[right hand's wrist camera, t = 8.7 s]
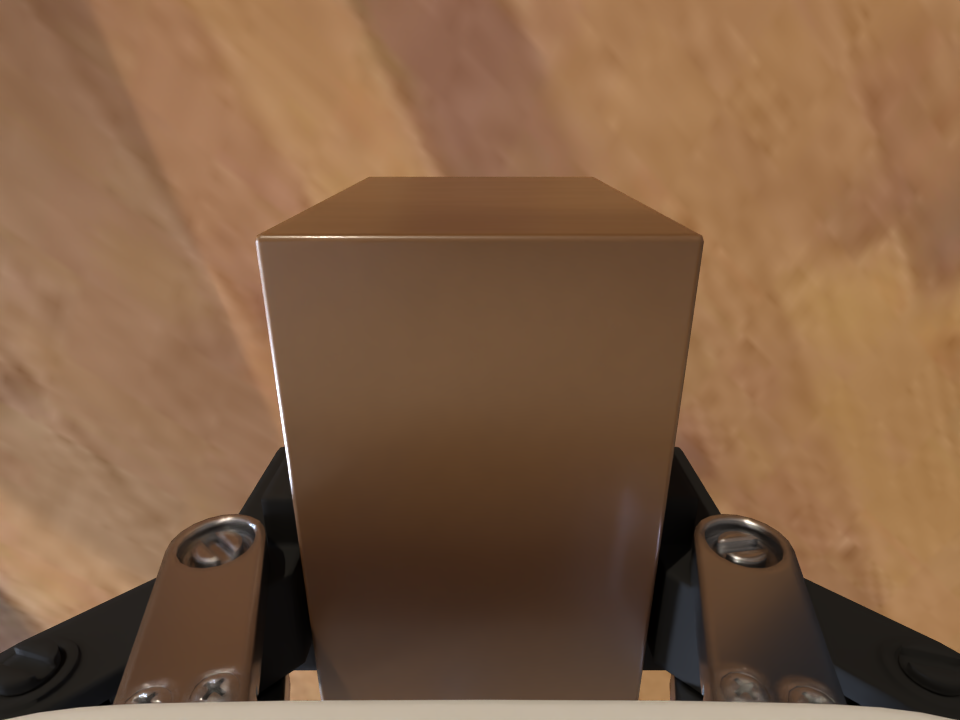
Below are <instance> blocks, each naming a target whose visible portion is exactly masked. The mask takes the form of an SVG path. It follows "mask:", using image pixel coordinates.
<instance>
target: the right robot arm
mask: <svg viewBox="0 0 960 720" xmlns="http://www.w3.org/2000/svg"><path fill="white" fill-rule="evenodd" d="M293 670H317V667H316V660H315V653H314V646H313V639H312V632H311V625H310V618H309V611H308V604H307V597H306V590H305V583H304V576H303V569H302V562H301V555H300V548H299V541H298V534H297V528H296V521H295V514H294V507H293V500H292V493H291V486H290V479H289V472H288V465H287V458H286V451H285V447H281V448H280V449H279V450H278V451H277V452H276V454H275V456H274V457H273V459H272V461H271V462H270V464H269V466H268V467H267V469H266V470H265V472H264V474H263V475H262V477H261V479H260V480H259V482H258V483H257V485H256V487H255V488H254V490H253V492H252V493H251V495H250V497H249V498H248V500H247V501H246V503H245V505H244V506H243V508H242V510H241V511H240V513H239V514H231V515H221V516H216V517H212V518H208V519H205V520H203V521H200V522H198V523H195V524H193V525H192V526H190V527H188V528H187V529H185V530H183V531H182V532H181V533H179V534H178V535H177V536H176V537H175V538H174V539H173V540H172V541H171V543H170V544H169V546H168V548H167V550H166V552H165V555H164V557H163V560H162V563H161V566H160V569H159V572H158V575H157V578H155V579H153V580H151V581H149V582H146V583H144V584H142V585H140V586H138V587H136V588H134V589H132V590H130V591H127V592H125V593H123V594H121V595H119V596H117V597H115V598H113V599H111V600H109V601H106V602H104V603H102V604H100V605H98V606H96V607H94V608H92V609H90V610H87V611H85V612H83V613H81V614H79V615H77V616H75V617H73V618H71V619H69V620H66V621H64V622H62V623H60V624H58V625H56V626H54V627H52V628H50V629H47V630H45V631H43V632H41V633H39V634H37V635H35V636H33V637H31V638H29V639H26V640H24V641H22V642H20V643H18V644H16V645H15V646H13V647H11V648H9V649H8V650H6V651H4V652H2V653H0V720H960V654H959V653H957V652H956V651H954V650H952V649H950V648H949V647H947V646H945V645H943V644H942V643H940V642H938V641H935V640H933V639H931V638H929V637H927V636H925V635H923V634H921V633H919V632H916V631H914V630H912V629H910V628H908V627H906V626H904V625H902V624H900V623H898V622H895V621H893V620H891V619H889V618H887V617H885V616H883V615H881V614H879V613H876V612H874V611H872V610H870V609H868V608H866V607H864V606H862V605H860V604H858V603H855V602H853V601H851V600H849V599H847V598H845V597H843V596H841V595H839V594H836V593H834V592H832V591H830V590H828V589H826V588H824V587H822V586H820V585H818V584H815V583H813V582H811V581H809V580H807V579H805V578H803V575H802V572H801V569H800V566H799V563H798V560H797V557H796V555H795V552H794V550H793V548H792V546H791V544H790V543H789V541H788V540H787V539H786V538H785V537H784V536H783V535H782V534H781V533H779V532H778V531H777V530H775V529H773V528H772V527H770V526H768V525H767V524H765V523H762V522H760V521H757V520H755V519H752V518H748V517H744V516H739V515H729V514H721V513H720V512H719V510H718V508H717V507H716V505H715V504H714V502H713V500H712V499H711V497H710V495H709V494H708V492H707V491H706V489H705V487H704V486H703V484H702V482H701V481H700V479H699V477H698V476H697V474H696V473H695V471H694V469H693V468H692V466H691V464H690V463H689V461H688V459H687V458H686V456H685V455H684V453H683V451H682V450H681V449H680V448H679V447H674V453H673V460H672V467H671V474H670V481H669V488H668V495H667V502H666V509H665V516H664V523H663V530H662V537H661V544H660V551H659V558H658V565H657V572H656V579H655V586H654V593H653V600H652V607H651V614H650V621H649V628H648V635H647V642H646V649H645V656H644V663H643V670H666V671H668V672H669V673H671V678H670V701H625V700H335V701H290V678H289V673H290V672H292V671H293Z"/></svg>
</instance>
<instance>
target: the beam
mask: <svg viewBox="0 0 960 720" xmlns="http://www.w3.org/2000/svg"><path fill="white" fill-rule="evenodd" d="M255 242H256V249H257V256H258V263H259V270H260V277H261V284H262V291H263V298H264V305H265V312H266V319H267V326H268V333H269V340H270V347H271V353H272V360H273V367H274V374H275V381H276V388H277V395H278V402H279V409H280V416H281V423H282V430H283V437H284V444H285V451H286V458H287V465H288V472H289V479H290V486H291V493H292V500H293V507H294V514H295V521H296V528H297V534H298V541H299V548H300V555H301V562H302V569H303V576H304V583H305V590H306V597H307V604H308V611H309V618H310V625H311V632H312V639H313V646H314V653H315V660H316V667H317V674H318V681H319V688H320V695H321V701H335V700H625V701H638V698H639V691H640V684H641V677H642V670H643V663H644V656H645V649H646V642H647V635H648V628H649V621H650V614H651V607H652V600H653V593H654V586H655V579H656V572H657V565H658V558H659V551H660V544H661V537H662V530H663V523H664V516H665V509H666V502H667V495H668V488H669V481H670V474H671V467H672V460H673V453H674V446H675V439H676V432H677V425H678V418H679V412H680V405H681V398H682V391H683V384H684V377H685V370H686V363H687V356H688V349H689V342H690V335H691V328H692V321H693V314H694V307H695V300H696V293H697V286H698V279H699V272H700V265H701V258H702V251H703V244H704V241H703V237H702V235H700V234H698V233H696V232H694V231H692V230H690V229H689V228H687V227H685V226H683V225H681V224H679V223H677V222H676V221H674V220H672V219H670V218H668V217H666V216H664V215H663V214H661V213H659V212H657V211H655V210H653V209H651V208H650V207H648V206H646V205H644V204H642V203H640V202H639V201H637V200H635V199H633V198H631V197H629V196H627V195H626V194H624V193H622V192H620V191H618V190H616V189H614V188H613V187H611V186H609V185H607V184H605V183H603V182H601V181H600V180H598V179H596V178H594V177H368V178H366V179H364V180H362V181H360V182H358V183H356V184H355V185H353V186H351V187H349V188H347V189H345V190H343V191H341V192H339V193H337V194H335V195H334V196H332V197H330V198H328V199H326V200H324V201H322V202H320V203H318V204H316V205H314V206H312V207H311V208H309V209H307V210H305V211H303V212H301V213H299V214H297V215H295V216H293V217H291V218H290V219H288V220H286V221H284V222H282V223H280V224H278V225H276V226H274V227H272V228H270V229H268V230H267V231H265V232H263V233H261V234H259V235H257V237H256V241H255Z"/></svg>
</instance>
